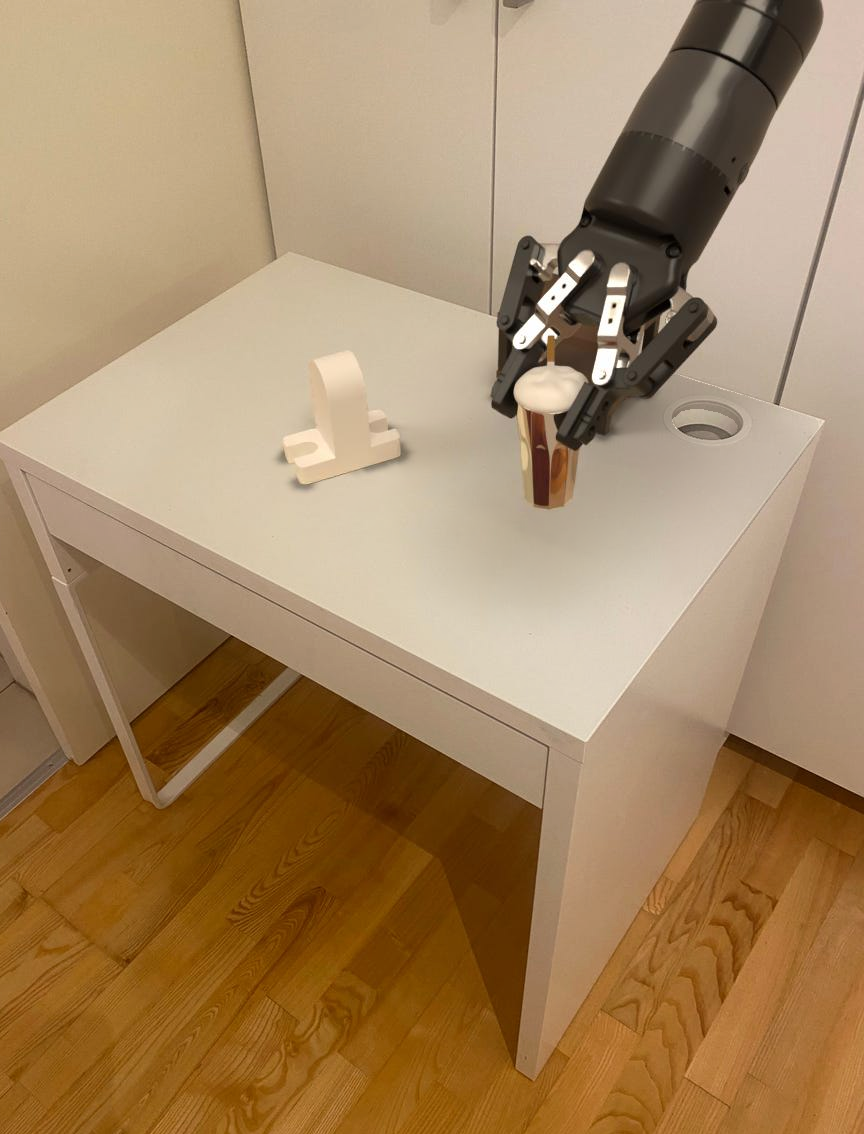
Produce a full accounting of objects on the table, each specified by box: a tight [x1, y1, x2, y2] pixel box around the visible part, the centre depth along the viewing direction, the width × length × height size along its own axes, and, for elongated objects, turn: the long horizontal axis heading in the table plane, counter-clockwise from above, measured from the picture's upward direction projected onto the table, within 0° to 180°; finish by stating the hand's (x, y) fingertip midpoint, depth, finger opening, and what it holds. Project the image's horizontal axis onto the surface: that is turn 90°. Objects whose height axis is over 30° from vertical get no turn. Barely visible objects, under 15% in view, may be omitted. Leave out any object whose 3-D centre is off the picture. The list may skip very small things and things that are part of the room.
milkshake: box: [514, 335, 588, 511], centre depth 63 cm, size 4×5×10 cm
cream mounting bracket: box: [282, 349, 402, 485], centre depth 88 cm, size 5×10×10 cm, turn 112°
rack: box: [495, 272, 664, 436], centre depth 93 cm, size 12×9×9 cm
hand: (533, 428), depth 61 cm, fingers closed on milkshake, 4 cm apart
